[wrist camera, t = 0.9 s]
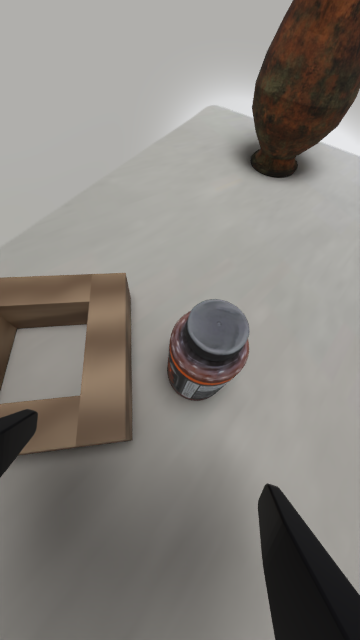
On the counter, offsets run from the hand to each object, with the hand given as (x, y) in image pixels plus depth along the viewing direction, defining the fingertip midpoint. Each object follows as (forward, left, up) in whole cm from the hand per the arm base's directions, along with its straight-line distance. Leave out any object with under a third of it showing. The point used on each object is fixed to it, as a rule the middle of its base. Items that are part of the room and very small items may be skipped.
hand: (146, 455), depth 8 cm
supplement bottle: (+3, -7, -14) cm, 16 cm away
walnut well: (+13, +4, -13) cm, 19 cm away
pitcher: (+27, -53, -14) cm, 61 cm away
